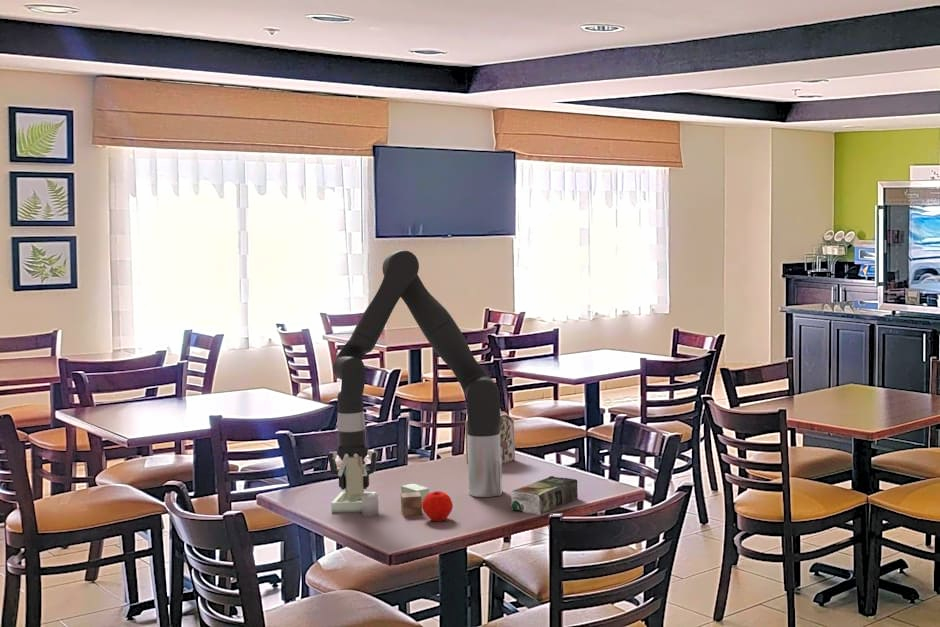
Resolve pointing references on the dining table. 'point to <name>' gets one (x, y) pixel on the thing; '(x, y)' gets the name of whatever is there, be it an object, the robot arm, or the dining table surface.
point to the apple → (437, 505)
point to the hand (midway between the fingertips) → (354, 488)
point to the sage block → (415, 489)
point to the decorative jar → (502, 438)
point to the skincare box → (354, 479)
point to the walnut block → (411, 503)
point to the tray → (346, 504)
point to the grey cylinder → (369, 504)
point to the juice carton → (544, 495)
